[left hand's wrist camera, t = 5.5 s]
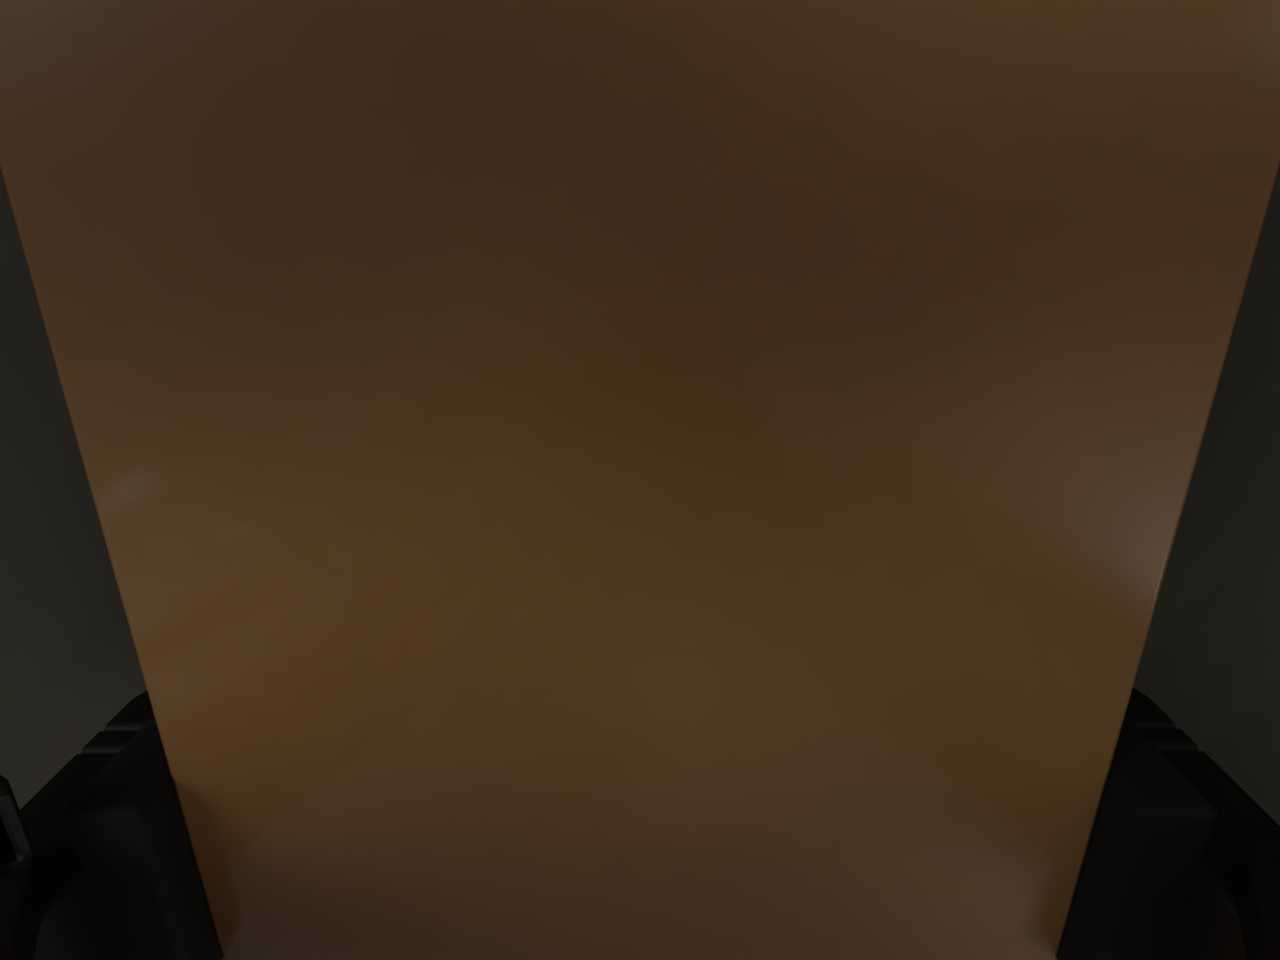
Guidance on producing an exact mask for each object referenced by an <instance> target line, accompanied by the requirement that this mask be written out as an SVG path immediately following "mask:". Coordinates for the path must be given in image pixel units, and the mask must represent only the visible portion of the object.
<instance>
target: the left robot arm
mask: <svg viewBox="0 0 1280 960" xmlns="http://www.w3.org/2000/svg"><path fill="white" fill-rule="evenodd" d="M1057 958H1058V960H1280V826H1279V825H1278V824H1277V823H1276V822H1275V821H1274V820H1273V819H1272V818H1271V817H1270V816H1269V815H1268V814H1267V813H1266V812H1265V811H1264V810H1263V809H1262V808H1261V807H1260V806H1259V805H1258V804H1257V803H1256V802H1255V801H1254V800H1253V799H1252V798H1251V797H1249V796H1248V795H1247V794H1246V793H1245V792H1244V791H1243V790H1242V789H1241V788H1240V787H1239V786H1238V785H1237V784H1236V783H1235V782H1234V781H1233V780H1232V779H1231V778H1230V777H1229V776H1228V775H1227V774H1226V773H1225V772H1224V771H1223V770H1222V769H1221V768H1220V767H1219V766H1218V765H1217V764H1216V763H1215V762H1214V761H1213V760H1212V759H1211V758H1210V757H1209V756H1208V755H1207V754H1206V753H1205V752H1204V751H1199V750H1198V745H1197V744H1196V743H1195V742H1193V741H1192V740H1191V739H1190V738H1189V737H1188V736H1187V735H1186V734H1185V733H1184V732H1183V731H1182V730H1181V729H1176V727H1175V723H1174V722H1173V721H1172V720H1171V719H1170V718H1169V717H1168V716H1167V715H1166V714H1165V713H1164V712H1163V711H1162V710H1161V709H1160V708H1159V707H1158V706H1157V705H1156V704H1155V703H1154V702H1153V701H1152V700H1151V699H1150V698H1149V697H1147V696H1146V695H1144V694H1142V693H1141V692H1139V691H1137V690H1136V689H1134V688H1132V692H1131V696H1130V699H1129V703H1128V706H1127V710H1126V713H1125V717H1124V720H1123V724H1122V727H1121V731H1120V735H1119V738H1118V742H1117V745H1116V749H1115V752H1114V756H1113V759H1112V763H1111V767H1110V770H1109V774H1108V777H1107V781H1106V784H1105V788H1104V791H1103V795H1102V798H1101V802H1100V806H1099V809H1098V813H1097V816H1096V820H1095V823H1094V827H1093V830H1092V834H1091V838H1090V841H1089V845H1088V848H1087V852H1086V855H1085V859H1084V862H1083V866H1082V869H1081V873H1080V877H1079V880H1078V884H1077V887H1076V891H1075V894H1074V898H1073V901H1072V905H1071V908H1070V912H1069V916H1068V919H1067V923H1066V926H1065V930H1064V933H1063V937H1062V940H1061V944H1060V948H1059V951H1058V955H1057ZM221 959H222V954H221V950H220V947H219V943H218V939H217V936H216V932H215V929H214V925H213V922H212V918H211V915H210V911H209V907H208V904H207V900H206V897H205V893H204V890H203V886H202V883H201V879H200V876H199V872H198V868H197V865H196V861H195V858H194V854H193V851H192V847H191V844H190V840H189V837H188V833H187V829H186V826H185V822H184V819H183V815H182V812H181V808H180V805H179V801H178V797H177V794H176V790H175V787H174V783H173V780H172V776H171V773H170V769H169V766H168V762H167V758H166V755H165V751H164V748H163V744H162V741H161V737H160V734H159V730H158V726H157V723H156V719H155V716H154V712H153V709H152V705H151V702H150V698H149V695H148V691H145V692H144V693H142V694H140V695H139V696H137V697H135V698H134V699H132V700H131V701H130V702H129V703H128V704H127V705H126V706H125V707H124V708H123V709H122V710H121V711H120V712H119V713H118V714H117V715H116V716H115V717H114V718H113V719H112V720H111V721H110V722H109V723H108V724H107V725H106V726H105V730H104V732H99V733H98V734H97V735H96V736H95V737H94V738H93V739H92V740H91V741H90V742H89V743H88V744H87V745H85V746H84V747H83V751H82V753H81V754H76V755H75V756H74V757H73V758H72V759H71V760H70V761H69V762H68V763H67V764H66V765H65V766H64V767H63V768H62V769H61V770H60V771H59V772H58V773H57V774H56V775H55V776H54V777H53V778H52V779H51V780H50V781H49V782H48V783H47V784H46V785H45V786H44V787H43V788H42V789H41V790H40V791H39V792H38V793H37V794H36V795H35V796H34V797H33V798H32V799H31V800H30V801H29V802H28V803H27V804H26V805H25V806H24V807H23V808H22V809H21V810H19V808H18V805H17V802H16V800H15V797H14V795H13V792H12V789H11V787H10V784H9V781H8V780H7V779H6V778H4V777H3V776H1V775H0V960H221Z"/></svg>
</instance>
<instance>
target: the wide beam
mask: <svg viewBox="0 0 1280 960" xmlns="http://www.w3.org/2000/svg"><path fill="white" fill-rule="evenodd" d="M1279 167H1280V0H0V169H1V173H2V176H3V180H4V184H5V187H6V191H7V194H8V198H9V201H10V205H11V208H12V212H13V215H14V219H15V223H16V226H17V230H18V233H19V237H20V240H21V244H22V247H23V251H24V255H25V258H26V262H27V265H28V269H29V272H30V276H31V279H32V283H33V286H34V290H35V294H36V297H37V301H38V304H39V308H40V311H41V315H42V318H43V322H44V326H45V329H46V333H47V336H48V340H49V343H50V347H51V350H52V354H53V357H54V361H55V365H56V368H57V372H58V375H59V379H60V382H61V386H62V389H63V393H64V396H65V400H66V404H67V407H68V411H69V414H70V418H71V421H72V425H73V428H74V432H75V436H76V439H77V443H78V446H79V450H80V453H81V457H82V460H83V464H84V467H85V471H86V475H87V478H88V482H89V485H90V489H91V492H92V496H93V499H94V503H95V506H96V510H97V514H98V517H99V521H100V524H101V528H102V531H103V535H104V538H105V542H106V546H107V549H108V553H109V556H110V560H111V563H112V567H113V570H114V574H115V577H116V581H117V585H118V588H119V592H120V595H121V599H122V602H123V606H124V609H125V613H126V616H127V620H128V624H129V627H130V631H131V634H132V638H133V641H134V645H135V648H136V652H137V656H138V659H139V663H140V666H141V670H142V673H143V677H144V680H145V684H146V687H147V691H148V695H149V698H150V702H151V705H152V709H153V712H154V716H155V719H156V723H157V726H158V730H159V734H160V737H161V741H162V744H163V748H164V751H165V755H166V758H167V762H168V766H169V769H170V773H171V776H172V780H173V783H174V787H175V790H176V794H177V797H178V801H179V805H180V808H181V812H182V815H183V819H184V822H185V826H186V829H187V833H188V837H189V840H190V844H191V847H192V851H193V854H194V858H195V861H196V865H197V868H198V872H199V876H200V879H201V883H202V886H203V890H204V893H205V897H206V900H207V904H208V907H209V911H210V915H211V918H212V922H213V925H214V929H215V932H216V936H217V939H218V943H219V947H220V950H221V954H222V957H223V960H1056V958H1057V955H1058V951H1059V948H1060V944H1061V940H1062V937H1063V933H1064V930H1065V926H1066V923H1067V919H1068V916H1069V912H1070V908H1071V905H1072V901H1073V898H1074V894H1075V891H1076V887H1077V884H1078V880H1079V877H1080V873H1081V869H1082V866H1083V862H1084V859H1085V855H1086V852H1087V848H1088V845H1089V841H1090V838H1091V834H1092V830H1093V827H1094V823H1095V820H1096V816H1097V813H1098V809H1099V806H1100V802H1101V798H1102V795H1103V791H1104V788H1105V784H1106V781H1107V777H1108V774H1109V770H1110V767H1111V763H1112V759H1113V756H1114V752H1115V749H1116V745H1117V742H1118V738H1119V735H1120V731H1121V727H1122V724H1123V720H1124V717H1125V713H1126V710H1127V706H1128V703H1129V699H1130V696H1131V692H1132V688H1133V685H1134V681H1135V678H1136V674H1137V671H1138V667H1139V664H1140V660H1141V656H1142V653H1143V649H1144V646H1145V642H1146V639H1147V635H1148V632H1149V628H1150V625H1151V621H1152V617H1153V614H1154V610H1155V607H1156V603H1157V600H1158V596H1159V593H1160V589H1161V585H1162V582H1163V578H1164V575H1165V571H1166V568H1167V564H1168V561H1169V557H1170V554H1171V550H1172V546H1173V543H1174V539H1175V536H1176V532H1177V529H1178V525H1179V522H1180V518H1181V514H1182V511H1183V507H1184V504H1185V500H1186V497H1187V493H1188V490H1189V486H1190V483H1191V479H1192V475H1193V472H1194V468H1195V465H1196V461H1197V458H1198V454H1199V451H1200V447H1201V443H1202V440H1203V436H1204V433H1205V429H1206V426H1207V422H1208V419H1209V415H1210V412H1211V408H1212V404H1213V401H1214V397H1215V394H1216V390H1217V387H1218V383H1219V380H1220V376H1221V372H1222V369H1223V365H1224V362H1225V358H1226V355H1227V351H1228V348H1229V344H1230V341H1231V337H1232V333H1233V330H1234V326H1235V323H1236V319H1237V316H1238V312H1239V309H1240V305H1241V301H1242V298H1243V294H1244V291H1245V287H1246V284H1247V280H1248V277H1249V273H1250V270H1251V266H1252V262H1253V259H1254V255H1255V252H1256V248H1257V245H1258V241H1259V238H1260V234H1261V230H1262V227H1263V223H1264V220H1265V216H1266V213H1267V209H1268V206H1269V202H1270V199H1271V195H1272V191H1273V188H1274V184H1275V181H1276V177H1277V174H1278V170H1279Z"/></svg>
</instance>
